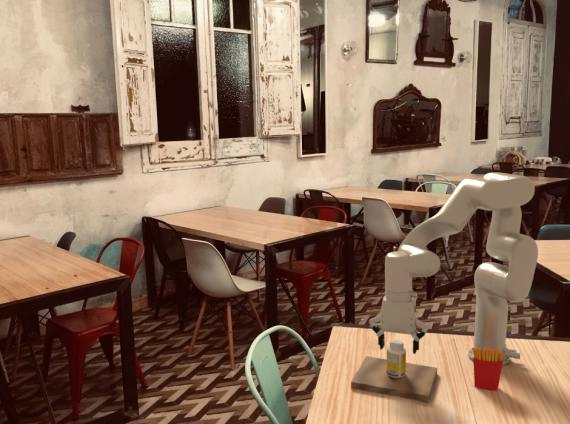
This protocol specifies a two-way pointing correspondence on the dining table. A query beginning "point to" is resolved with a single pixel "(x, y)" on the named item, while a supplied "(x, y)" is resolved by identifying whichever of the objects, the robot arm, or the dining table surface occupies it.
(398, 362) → the supplement bottle
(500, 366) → the french fries
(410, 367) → the walnut board
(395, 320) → the robot arm
